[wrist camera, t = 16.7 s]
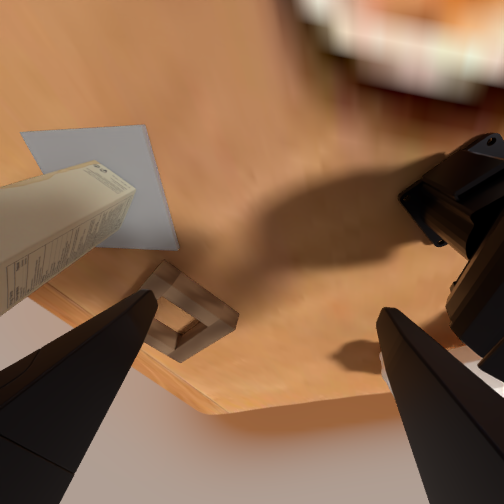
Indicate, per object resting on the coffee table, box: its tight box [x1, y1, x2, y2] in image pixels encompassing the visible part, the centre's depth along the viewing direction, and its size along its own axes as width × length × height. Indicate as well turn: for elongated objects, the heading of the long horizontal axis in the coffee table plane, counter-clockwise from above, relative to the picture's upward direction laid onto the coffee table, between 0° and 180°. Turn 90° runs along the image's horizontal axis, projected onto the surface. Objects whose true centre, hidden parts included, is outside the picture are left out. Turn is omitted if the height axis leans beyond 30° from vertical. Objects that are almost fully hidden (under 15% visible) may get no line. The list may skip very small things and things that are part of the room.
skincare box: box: [0, 160, 136, 316], centre depth 16 cm, size 6×4×12 cm
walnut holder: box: [137, 260, 239, 363], centre depth 30 cm, size 12×14×2 cm
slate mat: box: [20, 125, 180, 251], centre depth 22 cm, size 12×12×1 cm
